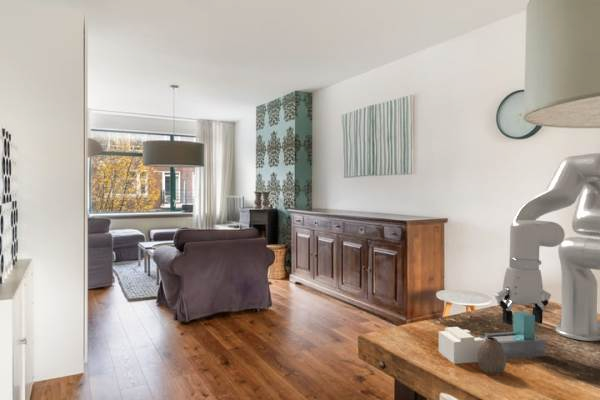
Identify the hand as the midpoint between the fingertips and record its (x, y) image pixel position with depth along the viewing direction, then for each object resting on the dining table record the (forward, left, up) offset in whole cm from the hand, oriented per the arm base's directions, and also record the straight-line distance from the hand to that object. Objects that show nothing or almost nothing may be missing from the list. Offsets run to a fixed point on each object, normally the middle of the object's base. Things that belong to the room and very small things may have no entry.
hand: (522, 322), depth 117 cm
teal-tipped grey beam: (+4, 0, -7) cm, 9 cm away
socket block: (+18, 0, -9) cm, 20 cm away
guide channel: (+2, 0, -9) cm, 9 cm away
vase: (+17, +10, -9) cm, 21 cm away
